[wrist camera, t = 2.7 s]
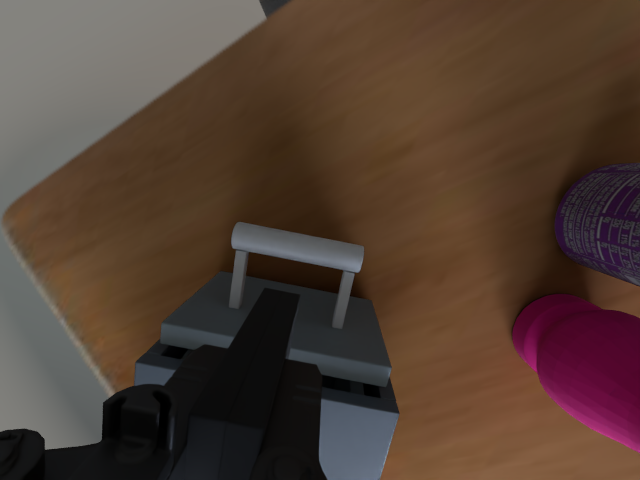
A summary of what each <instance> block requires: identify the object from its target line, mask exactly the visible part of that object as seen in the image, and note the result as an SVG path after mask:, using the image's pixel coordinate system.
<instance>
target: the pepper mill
mask: <svg viewBox="0 0 640 480" xmlns="http://www.w3.org/2000/svg"><path fill="white" fill-rule="evenodd" d="M513 344H514V347H515V349H516V351H517V353H518V354H519V355H520V357H521V358H522V359H523V360H524V361H525V362H526V363H527V364H528V365H529V366H530V367H531V368H532V369H533V370H534V371H536V372H537V373H538V376H539V379H540V383H541V384H542V386H543V388H544V390H545V391H546V392H547V394H548V395H549V396H550V397H551V398H552V399H553V400H554V401H555V402H556V403H557V404H558V405H559V406H560V407H561V408H563V409H564V410H565V411H566V412H567V413H568V414H570V415H571V416H573V417H574V418H576V419H577V420H579V421H580V422H582V423H583V424H585V425H586V426H588V427H589V428H591V429H593V430H595V431H597V432H599V433H601V434H603V435H605V436H607V437H609V438H611V439H613V440H615V441H618V442H620V443H622V444H624V445H626V446H627V447H629V448H631V449H633V450H635V451H637V452H639V453H640V318H638V317H636V316H633V315H630V314H627V313H624V312H621V311H614V310H603V309H601V308H599V307H598V306H596V305H594V304H592V303H590V302H588V301H586V300H584V299H582V298H579V297H577V296H573V295H569V294H553V295H548V296H545V297H542V298H540V299H538V300H535V301H533V302H532V303H531V304H529V305H528V306H527V307H526V308H524V309H523V311H522V312H521V313H520V315H519V316H518V317H517V319H516V322H515V325H514V327H513Z"/></svg>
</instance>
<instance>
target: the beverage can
mask: <svg viewBox="0 0 640 480" xmlns="http://www.w3.org/2000/svg"><path fill="white" fill-rule="evenodd" d="M555 234H556V238H557V241H558V244H559V246H560V247H561V249H562V250H563V252H564V253H565V254H566V255H567V256H568V257H569V258H570V259H571V260H573V261H574V262H576V263H578V264H580V265H583V266H585V267H588V268H591V269H593V270H596V271H599V272H602V273H604V274H607V275H610V276H613V277H615V278H618V279H621V280H624V281H626V282H629V283H632V284H635V285H637V286H640V163H626V164H613V165H608V166H604V167H601V168H598V169H596V170H593V171H591V172H589V173H588V174H586V175H585V176H583V177H582V178H580V179H579V180H578V181H577V182H575V183H574V184H573V185H572V186H571V187H570V189H569V190H568V191H567V192H566V194H565V195H564V197H563V198H562V200H561V202H560V204H559V206H558V209H557V212H556V217H555Z"/></svg>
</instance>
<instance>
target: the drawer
mask: <svg viewBox="0 0 640 480" xmlns="http://www.w3.org/2000/svg"><path fill="white" fill-rule="evenodd" d="M231 245H232V248H234V249H237V250H236V254H235V262H234V270H233V273H228V272H223V271H220V272H219V273H218V274H217V275H215V276H214V277H213V278H212V279H211V280H210V281H209V282H207V283H206V284H205V285H204V286H203V287H202V288H201V289H199V290H198V291H197V292H196V293H195V294H194V295H193V296H191V297H190V298H189V299H188V300H187V301H186V302H185V303H183V304H182V305H181V306H180V307H179V308H178V309H177V310H175V311H174V312H173V313H172V314H171V315H170V316H169V317H167V318H166V319H165V320H164V321H163V322H162V324H161V337H160V343H161V344H166V345H171V346H176V347H181V348H187V349H188V351H187V352H186V353H185V354H184V356H183V357H182V358H181V360H185V358H186V357H187V356H188V355H189V353H190V352H192V351H194V350H195V349H197V348H199V347H200V346H202V345H204V344H207V345H212V346H217V347H222V348H229V346H230V344H231V343H232V341H233V339H234V338H235V336H236V334H237V333H238V331H239V329H240V328H241V326H242V324H243V323H244V321H245V319H246V318H247V316H248V314H249V313H250V311H251V309H252V308H253V306H254V304H255V303H256V301H257V299H258V298H259V296H260V294H261V293H262V291H263V290H264V288H270V289H275V290H280V291H285V292H290V293H295V294H300V295H301V296H300V301H299V306H298V311H297V317H296V322H295V327H294V333H293V338H292V343H291V349H290V354H289V358H288V359H290V360H295V361H300V362H306V363H311V364H316V365H317V367H318V369H319V371H320V373H321V375H322V377H323V379H322V387H325V388H330V389H335V390H340V391H345V392H351V393H356V394H361V395H364V388H363V383H366V384H371V385H376V386H381V387H386V386H387V383H388V379H389V375H390V372H391V368H392V367H391V364H390V360H389V357H388V354H387V350H386V347H385V344H384V340H383V337H382V334H381V330H380V327H379V324H378V320H377V317H376V314H375V310H374V307H373V304H372V301H371V300H367V299H362V298H357V297H352V296H350V292H351V288H352V283H353V279H354V275H355V273H354V272H356V273H358V272H359V271H360V269H361V266H362V262H363V257H364V247H363V246H361V245H356V244H351V243H346V242H341V241H335V240H330V239H325V238H320V237H315V236H310V235H305V234H299V233H294V232H289V231H284V230H279V229H274V228H269V227H264V226H258V225H253V224H248V223H243V222H237V223H236V225H235V227H234V229H233V233H232V238H231ZM249 252H254V253H259V254H264V255H269V256H274V257H279V258H284V259H290V260H295V261H300V262H305V263H310V264H315V265H320V266H325V267H331V268H336V269H341V270H343V274H342V279H341V283H340V288H339V292H338V294H336V293H331V292H326V291H321V290H316V289H310V288H305V287H300V286H295V285H290V284H285V283H280V282H275V281H269V280H264V279H259V278H254V277H249V276H246V270H247V263H248V256H249Z"/></svg>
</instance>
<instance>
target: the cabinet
mask: <svg viewBox="0 0 640 480" xmlns="http://www.w3.org/2000/svg"><path fill="white" fill-rule="evenodd" d="M187 351H188V349H187V348H181V347H176V346H171V345H166V344H161V343H160V339H159V340H158V341H157V342H156V343H155V344H154V345H153V346H152V347H151V348H150V349H149V350H148V351H147V352H146V353H144V354H143V355H142V356H141V357H140V358H139V359H138V360H137V361H136V363H135V381H134V386H137V385H142V384H160V385H163V386H164V385H165V383H166V382H167V381H168V380H169V378H170V377H172V375H173V373H174V372H175V371H176V370H177V368H178V367H180V366H181V363H182V362H183V361H184V360H181V358H182V357H183V356H184V354H185V353H186V352H187ZM363 388H364V395H361V394H356V393H351V392H345V391H340V390H335V389H330V388H325V387H322V399H321V418H320V438H319V461H320V464H321V467H322V470H323V472H324V474H325V476H326V477H327V479H328V480H380V477H381V473H382V470H383V467H384V463H385V460H386V457H387V453H388V450H389V447H390V443H391V440H392V437H393V433H394V430H395V427H396V423H397V420H398V416H399V410H398V407H397V403H396V399H395V395H394V391H393V388H392V384H391V381H390V377H389V379H388V383H387V386H386V387H381V386H376V385H371V384H366V383H363Z"/></svg>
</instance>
